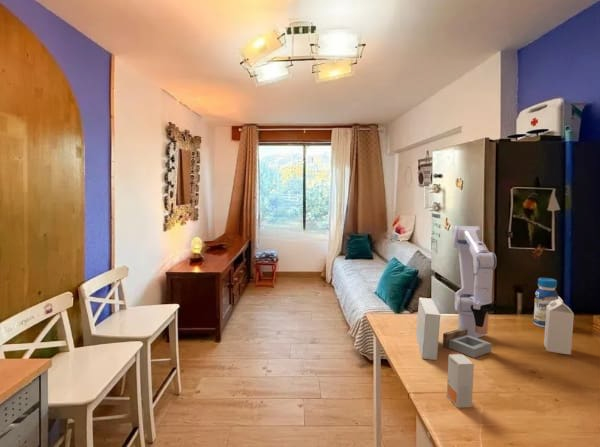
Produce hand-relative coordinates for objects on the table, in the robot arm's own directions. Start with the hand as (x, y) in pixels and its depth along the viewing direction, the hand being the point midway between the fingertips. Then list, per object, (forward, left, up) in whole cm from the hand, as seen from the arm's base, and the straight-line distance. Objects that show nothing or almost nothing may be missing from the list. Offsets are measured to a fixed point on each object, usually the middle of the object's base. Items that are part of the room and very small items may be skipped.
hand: (480, 324), depth 134 cm
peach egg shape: (0, 0, -3) cm, 3 cm away
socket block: (+2, -3, -10) cm, 10 cm away
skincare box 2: (+35, +17, -10) cm, 40 cm away
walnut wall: (+2, -9, -10) cm, 13 cm away
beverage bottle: (-50, -3, -10) cm, 51 cm away
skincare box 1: (+14, -12, -10) cm, 21 cm away
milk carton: (-26, +13, -10) cm, 31 cm away
